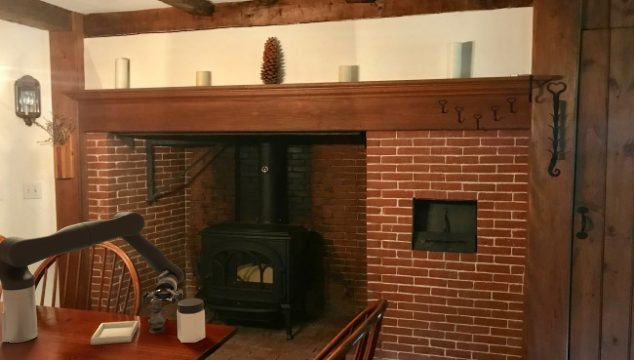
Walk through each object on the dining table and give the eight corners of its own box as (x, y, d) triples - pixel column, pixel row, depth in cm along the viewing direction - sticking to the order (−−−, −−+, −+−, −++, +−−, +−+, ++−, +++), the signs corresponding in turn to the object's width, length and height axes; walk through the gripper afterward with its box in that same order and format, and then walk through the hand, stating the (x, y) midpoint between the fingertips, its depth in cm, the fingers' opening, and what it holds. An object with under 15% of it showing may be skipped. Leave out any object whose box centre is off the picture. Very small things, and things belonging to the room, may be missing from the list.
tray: (90, 344, 165) (90, 338, 165) (101, 328, 179) (101, 323, 179) (130, 342, 167) (130, 336, 167) (138, 326, 181) (137, 320, 181)
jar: (208, 340, 168) (207, 303, 167) (182, 345, 164) (181, 307, 164) (199, 331, 176) (198, 296, 175) (175, 335, 172) (174, 300, 171)
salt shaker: (155, 335, 173) (153, 299, 172) (144, 331, 177) (143, 296, 176) (169, 329, 178) (168, 295, 177) (159, 326, 181) (158, 292, 180)
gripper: (146, 280, 202) (139, 292, 186) (184, 278, 204) (180, 290, 188) (147, 299, 203) (140, 313, 187) (185, 297, 205) (181, 310, 189)
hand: (160, 301), depth 187 cm, fingers open, 8 cm apart
